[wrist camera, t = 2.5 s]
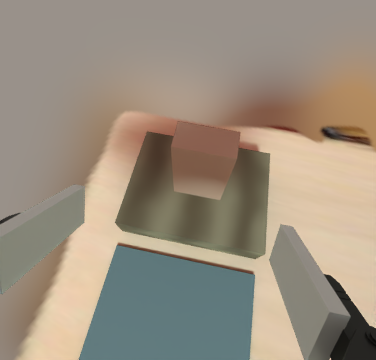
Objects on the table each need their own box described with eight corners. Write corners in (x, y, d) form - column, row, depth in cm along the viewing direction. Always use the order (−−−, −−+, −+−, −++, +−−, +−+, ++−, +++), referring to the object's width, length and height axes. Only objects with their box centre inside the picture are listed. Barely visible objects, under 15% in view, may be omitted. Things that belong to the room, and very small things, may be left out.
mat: (254, 275, 29) (255, 274, 29) (244, 423, 23) (245, 425, 23) (117, 245, 30) (116, 245, 30) (73, 379, 24) (71, 380, 24)
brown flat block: (261, 167, 36) (270, 153, 33) (255, 258, 30) (265, 254, 26) (150, 147, 37) (147, 131, 34) (122, 230, 31) (114, 222, 28)
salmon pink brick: (223, 179, 31) (240, 132, 22) (220, 200, 29) (237, 158, 20) (179, 171, 31) (177, 121, 22) (173, 191, 30) (170, 146, 21)
